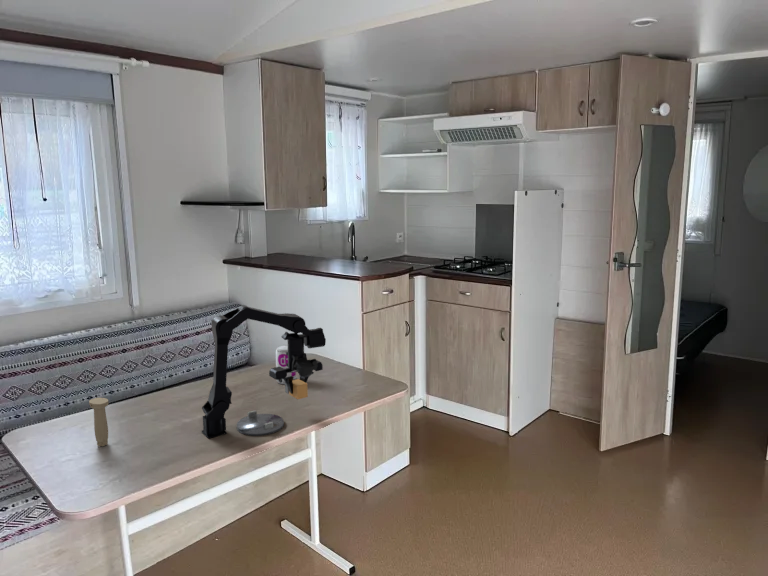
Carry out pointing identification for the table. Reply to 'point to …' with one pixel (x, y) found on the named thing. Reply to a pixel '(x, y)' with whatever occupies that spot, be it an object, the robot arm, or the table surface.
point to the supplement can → (282, 360)
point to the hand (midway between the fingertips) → (297, 392)
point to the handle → (100, 420)
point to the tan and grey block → (298, 389)
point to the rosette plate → (259, 424)
